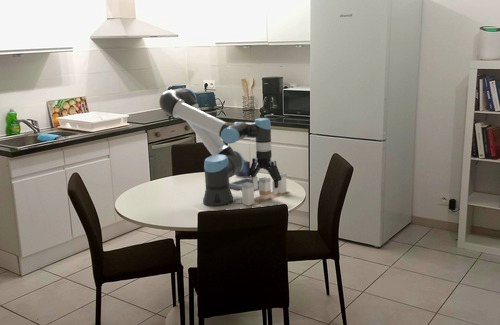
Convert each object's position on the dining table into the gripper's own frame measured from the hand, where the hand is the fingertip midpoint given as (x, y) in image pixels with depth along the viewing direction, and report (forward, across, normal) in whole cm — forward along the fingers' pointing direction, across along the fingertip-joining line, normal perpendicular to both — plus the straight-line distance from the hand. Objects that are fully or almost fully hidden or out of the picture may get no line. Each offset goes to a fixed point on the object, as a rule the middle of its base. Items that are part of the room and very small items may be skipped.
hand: (265, 191), depth 253 cm
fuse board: (+4, 0, 0) cm, 4 cm away
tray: (+4, +22, -10) cm, 24 cm away
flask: (+4, +42, -26) cm, 50 cm away
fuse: (+3, 0, +12) cm, 12 cm away
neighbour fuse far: (+3, 0, -12) cm, 12 cm away
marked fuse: (+3, 0, 0) cm, 3 cm away
